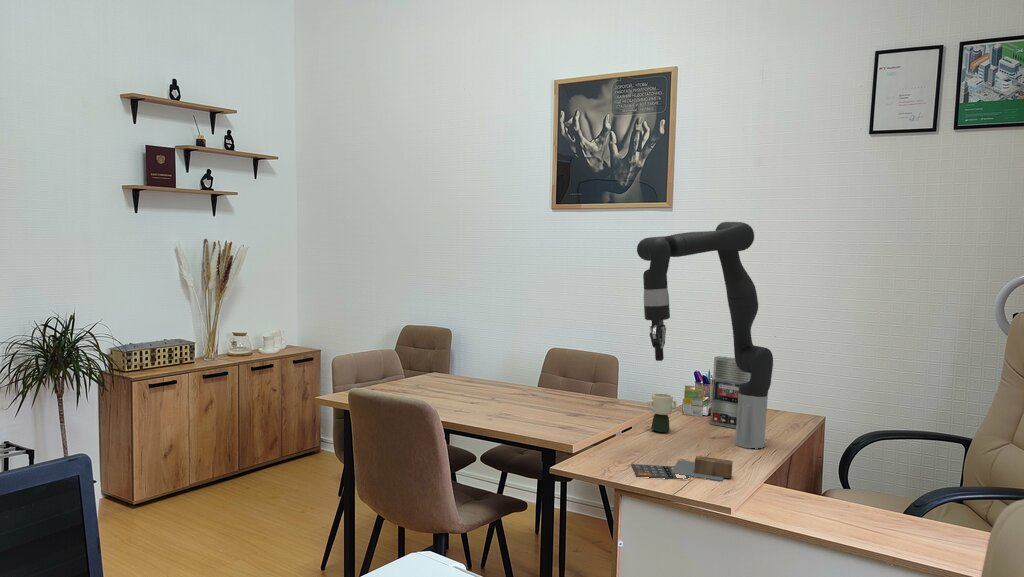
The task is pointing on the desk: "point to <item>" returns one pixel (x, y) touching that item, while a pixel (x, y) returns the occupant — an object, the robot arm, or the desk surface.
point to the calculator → (655, 471)
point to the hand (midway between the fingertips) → (659, 360)
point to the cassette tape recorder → (726, 391)
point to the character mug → (661, 411)
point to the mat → (691, 470)
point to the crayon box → (693, 401)
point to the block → (713, 466)
